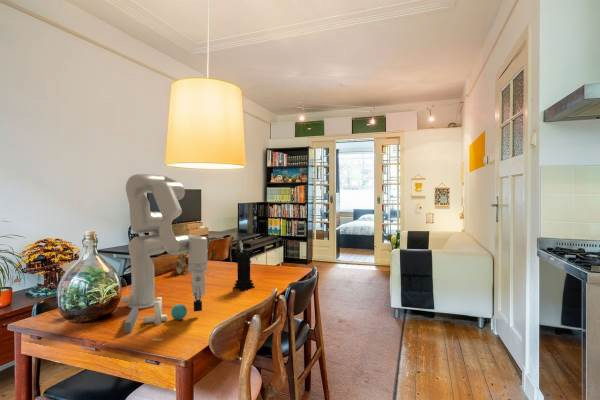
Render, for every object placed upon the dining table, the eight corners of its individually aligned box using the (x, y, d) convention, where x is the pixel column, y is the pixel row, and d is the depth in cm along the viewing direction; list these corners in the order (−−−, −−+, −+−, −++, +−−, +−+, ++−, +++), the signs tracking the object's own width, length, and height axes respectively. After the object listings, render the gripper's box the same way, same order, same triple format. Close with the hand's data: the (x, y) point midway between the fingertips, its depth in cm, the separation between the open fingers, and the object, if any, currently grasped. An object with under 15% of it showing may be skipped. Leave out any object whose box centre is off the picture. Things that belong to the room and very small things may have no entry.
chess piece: (244, 285, 183) (244, 249, 183) (254, 287, 178) (254, 250, 178) (233, 288, 177) (233, 251, 177) (243, 290, 172) (242, 252, 172)
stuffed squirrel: (169, 274, 209) (169, 254, 208) (183, 270, 222) (183, 250, 222) (183, 275, 206) (182, 254, 206) (196, 270, 219) (196, 251, 219)
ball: (186, 304, 131) (188, 318, 131) (184, 300, 137) (187, 314, 137) (170, 308, 129) (173, 323, 129) (169, 305, 134) (172, 319, 135)
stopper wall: (124, 333, 119) (124, 322, 119) (133, 316, 137) (132, 306, 136) (130, 332, 120) (130, 322, 120) (138, 315, 137) (138, 306, 137)
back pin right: (154, 324, 127) (153, 303, 127) (154, 322, 130) (154, 301, 130) (160, 324, 128) (160, 302, 128) (161, 321, 130) (160, 300, 130)
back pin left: (155, 320, 132) (155, 299, 132) (156, 318, 134) (155, 297, 134) (161, 319, 133) (161, 298, 133) (162, 317, 135) (162, 296, 135)
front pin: (166, 321, 131) (143, 324, 128) (167, 319, 133) (144, 321, 131) (166, 315, 131) (143, 318, 128) (167, 313, 133) (143, 315, 131)
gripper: (208, 270, 130) (208, 316, 130) (206, 262, 144) (206, 303, 145) (188, 271, 128) (188, 318, 128) (188, 263, 142) (188, 305, 142)
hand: (197, 310), depth 136 cm, fingers closed
